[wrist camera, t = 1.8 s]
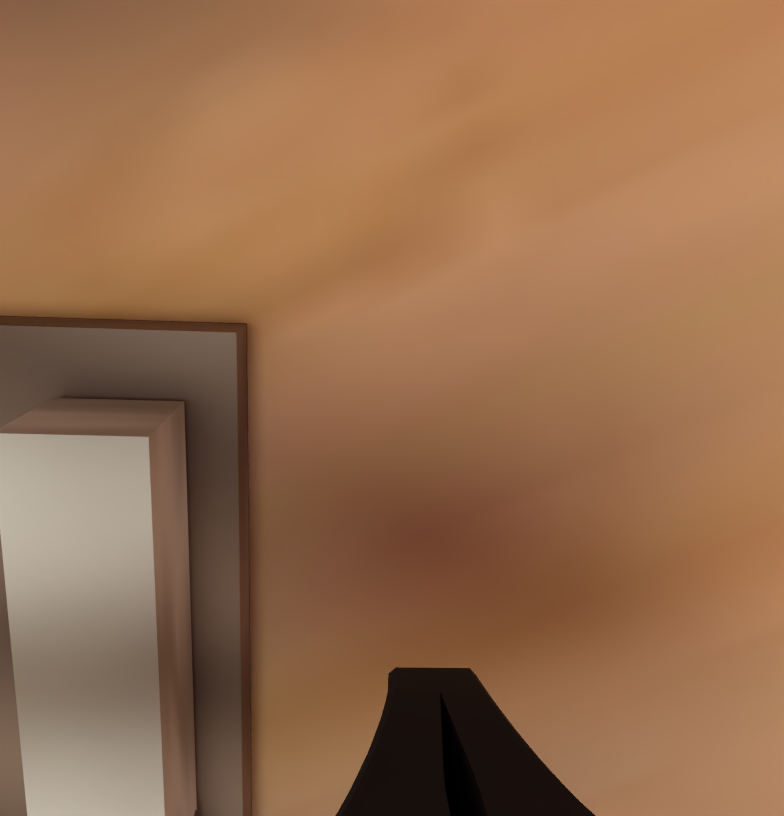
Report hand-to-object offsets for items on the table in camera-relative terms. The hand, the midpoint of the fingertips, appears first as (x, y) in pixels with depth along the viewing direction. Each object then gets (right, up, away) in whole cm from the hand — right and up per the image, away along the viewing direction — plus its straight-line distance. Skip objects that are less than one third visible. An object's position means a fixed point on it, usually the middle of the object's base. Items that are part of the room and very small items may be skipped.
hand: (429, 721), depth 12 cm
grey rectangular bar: (-7, -1, +5) cm, 9 cm away
